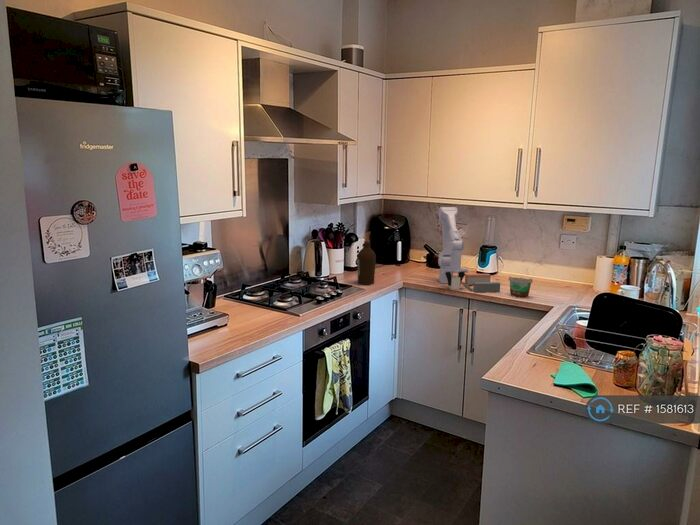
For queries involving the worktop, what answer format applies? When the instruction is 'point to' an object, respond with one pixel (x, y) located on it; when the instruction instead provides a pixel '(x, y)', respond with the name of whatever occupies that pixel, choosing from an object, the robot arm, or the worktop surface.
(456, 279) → the steel block
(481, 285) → the vise
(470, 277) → the clamp jaw
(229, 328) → the worktop surface
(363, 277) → the olive oil
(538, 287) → the worktop surface
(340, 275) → the worktop surface
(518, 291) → the food container
